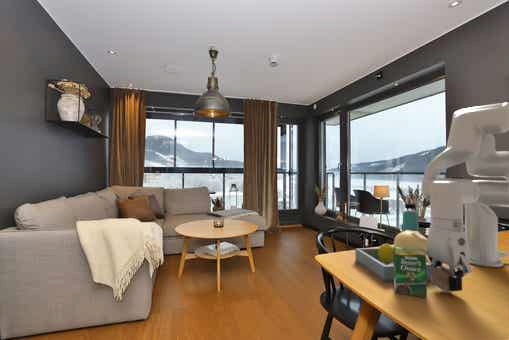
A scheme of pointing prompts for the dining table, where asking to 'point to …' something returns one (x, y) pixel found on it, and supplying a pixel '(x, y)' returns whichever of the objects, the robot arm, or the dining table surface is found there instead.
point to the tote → (380, 264)
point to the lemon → (386, 253)
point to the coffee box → (410, 271)
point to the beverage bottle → (410, 218)
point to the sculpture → (411, 240)
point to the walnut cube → (442, 277)
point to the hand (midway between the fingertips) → (446, 285)
